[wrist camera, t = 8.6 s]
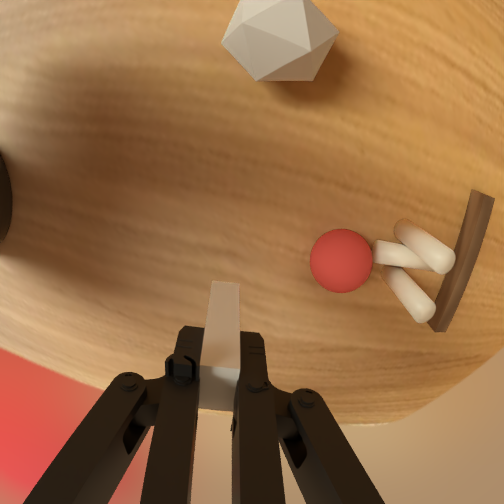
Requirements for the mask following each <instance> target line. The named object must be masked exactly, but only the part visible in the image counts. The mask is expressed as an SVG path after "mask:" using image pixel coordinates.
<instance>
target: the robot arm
mask: <svg viewBox="0 0 504 504" xmlns="http://www.w3.org/2000/svg"><path fill="white" fill-rule="evenodd" d="M11 212H12V195H11V187H10V181H9V177H8V173H7V170H6V167H5V164H4V162H3V160H2V158H1V156H0V243H1V241H2V240H3V239H4V237H5V235H6V233H7V231H8V228H9V224H10V220H11ZM198 408H201V409H210V410H221V411H233V419H232V425H231V430H230V431H232V504H286V503H285V494H284V486H283V476H282V467H281V458H280V450H279V443H280V445H281V447H282V450H283V452H284V454H285V457H286V459H287V461H288V464H289V466H290V468H291V470H292V473H293V475H294V477H295V479H296V482H297V484H298V486H299V488H300V491H301V493H302V495H303V497H304V499H305V502H306V504H385V503H384V501H383V500H382V498H381V496H380V495H379V493H378V491H377V489H376V488H375V486H374V484H373V483H372V481H371V480H370V478H369V476H368V475H367V473H366V471H365V469H364V468H363V466H362V464H361V463H360V461H359V459H358V458H357V456H356V454H355V453H354V451H353V449H352V448H351V446H350V444H349V443H348V441H347V439H346V437H345V436H344V434H343V432H342V431H341V429H340V427H339V426H338V424H337V422H336V420H335V419H334V417H333V415H332V414H331V412H330V410H329V408H328V407H327V405H326V403H325V402H324V400H323V398H322V397H321V396H320V395H319V393H317V392H315V391H314V390H311V389H307V388H306V389H298V390H296V391H295V392H293V393H288V392H285V391H282V390H279V389H277V388H276V387H274V386H273V385H272V384H271V382H270V381H269V379H268V373H267V364H266V355H265V346H264V339H263V338H262V337H261V335H260V334H259V333H255V332H244V331H240V284H239V283H232V282H223V281H214V280H212V284H211V291H210V297H209V304H208V310H207V317H206V324H205V328H200V327H192V326H184V327H183V328H182V329H181V330H180V331H179V334H178V338H177V342H176V347H175V350H174V354H172V355H170V356H169V357H167V359H166V361H165V375H164V376H163V377H160V378H157V379H149V380H144V378H143V377H142V376H141V375H139V374H137V373H133V372H124V373H122V374H119V375H118V376H117V377H115V378H114V380H113V381H112V382H111V384H110V385H109V386H108V387H107V389H106V390H105V391H104V393H103V394H102V395H101V397H100V398H99V399H98V401H97V402H96V403H95V405H94V406H93V407H92V409H91V410H90V411H89V413H88V414H87V415H86V417H85V418H84V419H83V421H82V422H81V423H80V425H79V426H78V427H77V429H76V430H75V431H74V433H73V434H72V435H71V437H70V438H69V440H68V441H67V442H66V444H65V445H64V446H63V448H62V449H61V450H60V452H59V453H58V455H57V456H56V457H55V459H54V460H53V461H52V463H51V464H50V466H49V467H48V468H47V470H46V471H45V473H44V474H43V475H42V477H41V478H40V480H39V481H38V482H37V484H36V485H35V487H34V488H33V490H32V491H31V493H30V494H29V495H28V497H27V498H26V500H25V501H24V503H23V504H108V502H109V500H110V499H111V497H112V495H113V493H114V492H115V490H116V488H117V486H118V484H119V482H120V481H121V479H122V477H123V475H124V474H125V472H126V470H127V468H128V467H129V465H130V463H131V461H132V459H133V458H134V456H135V454H136V452H137V450H138V449H139V447H140V445H141V443H142V442H143V440H144V438H145V436H146V434H147V433H148V431H149V429H150V427H151V426H154V431H153V436H152V441H151V446H150V451H149V456H148V462H147V467H146V472H145V477H144V483H143V489H142V495H141V501H140V504H190V501H191V486H192V474H193V462H194V451H195V440H196V430H197V420H198ZM278 440H279V441H278Z"/></svg>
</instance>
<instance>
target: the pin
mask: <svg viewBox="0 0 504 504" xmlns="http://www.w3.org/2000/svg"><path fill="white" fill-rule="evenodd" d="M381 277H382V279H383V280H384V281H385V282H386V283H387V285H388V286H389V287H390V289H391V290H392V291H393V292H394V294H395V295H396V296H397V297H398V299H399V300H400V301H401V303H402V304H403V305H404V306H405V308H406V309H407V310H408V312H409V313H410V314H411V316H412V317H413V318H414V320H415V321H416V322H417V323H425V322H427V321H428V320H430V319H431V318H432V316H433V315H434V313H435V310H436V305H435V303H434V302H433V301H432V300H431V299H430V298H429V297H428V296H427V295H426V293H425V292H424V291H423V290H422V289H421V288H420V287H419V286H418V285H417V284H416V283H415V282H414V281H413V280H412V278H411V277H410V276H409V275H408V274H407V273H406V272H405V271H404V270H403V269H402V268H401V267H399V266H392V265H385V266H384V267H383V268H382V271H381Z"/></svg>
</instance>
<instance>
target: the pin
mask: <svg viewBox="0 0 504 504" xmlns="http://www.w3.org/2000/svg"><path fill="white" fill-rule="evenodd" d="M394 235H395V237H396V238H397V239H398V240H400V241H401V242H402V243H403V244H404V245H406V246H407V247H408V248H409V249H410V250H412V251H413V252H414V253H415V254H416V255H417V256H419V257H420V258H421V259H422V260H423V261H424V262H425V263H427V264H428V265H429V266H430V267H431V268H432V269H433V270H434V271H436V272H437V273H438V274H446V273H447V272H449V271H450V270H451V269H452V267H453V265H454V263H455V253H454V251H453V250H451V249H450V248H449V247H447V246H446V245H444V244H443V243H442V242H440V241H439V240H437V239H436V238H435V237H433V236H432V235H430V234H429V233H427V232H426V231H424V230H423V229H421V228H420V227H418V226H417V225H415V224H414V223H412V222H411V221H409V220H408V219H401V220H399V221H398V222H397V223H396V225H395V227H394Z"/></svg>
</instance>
